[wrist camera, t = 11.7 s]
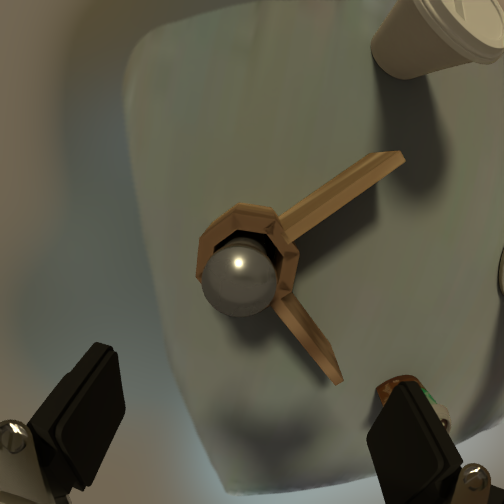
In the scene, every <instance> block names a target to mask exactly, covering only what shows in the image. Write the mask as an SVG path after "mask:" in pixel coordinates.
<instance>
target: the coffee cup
mask: <svg viewBox="0 0 504 504" xmlns="http://www.w3.org/2000/svg"><path fill="white" fill-rule="evenodd" d="M371 52H372V55H373V57H374V59H375V61H376V62H377V64H378V65H379V66H380V67H381V68H382V69H383V70H384V71H385V72H386V73H388V74H389V75H391V76H393V77H395V78H398V79H402V80H408V79H412V78H415V77H419V76H422V75H425V74H428V73H432V72H435V71H439V70H442V69H446V68H450V67H454V66H458V65H462V64H466V63H470V62H476V63H479V64H486V65H487V64H492V63H494V62H496V61H497V60H498V59H499V58H500V57H501V56H502V54H503V53H504V12H503V10H502V8H501V6H500V5H499V3H498V1H497V0H398V1H397V2H396V4H395V5H394V7H393V8H392V10H391V11H390V13H389V14H388V16H387V17H386V19H385V20H384V21H383V23H382V24H381V26H380V27H379V29H378V30H377V32H376V33H375V35H374V36H373V38H372V41H371Z"/></svg>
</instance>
